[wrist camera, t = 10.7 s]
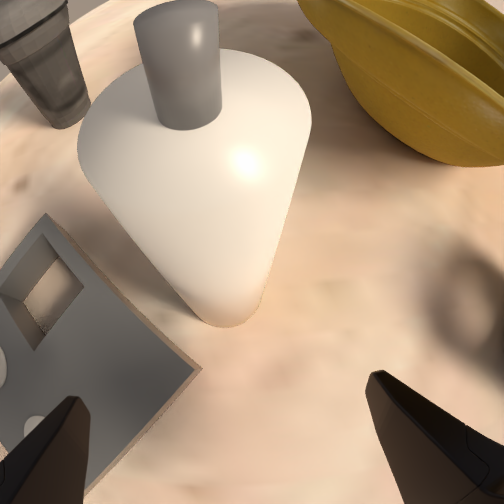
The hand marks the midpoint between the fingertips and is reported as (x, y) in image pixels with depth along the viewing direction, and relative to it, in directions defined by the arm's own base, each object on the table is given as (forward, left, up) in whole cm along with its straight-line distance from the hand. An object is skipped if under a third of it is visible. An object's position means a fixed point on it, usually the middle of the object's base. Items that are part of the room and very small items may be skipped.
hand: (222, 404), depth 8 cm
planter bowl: (+30, +1, -9) cm, 31 cm away
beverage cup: (+7, +27, -9) cm, 29 cm away
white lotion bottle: (+4, +4, -9) cm, 10 cm away
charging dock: (-7, +9, -9) cm, 14 cm away
